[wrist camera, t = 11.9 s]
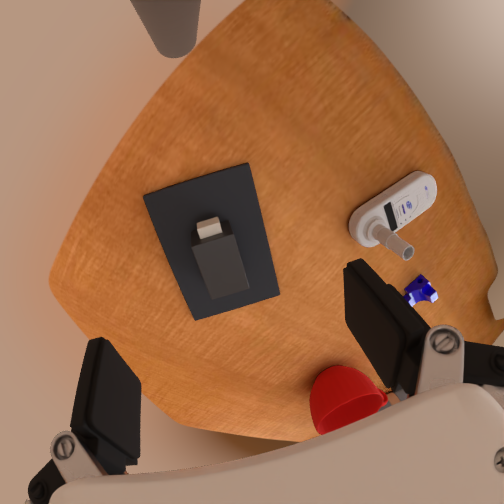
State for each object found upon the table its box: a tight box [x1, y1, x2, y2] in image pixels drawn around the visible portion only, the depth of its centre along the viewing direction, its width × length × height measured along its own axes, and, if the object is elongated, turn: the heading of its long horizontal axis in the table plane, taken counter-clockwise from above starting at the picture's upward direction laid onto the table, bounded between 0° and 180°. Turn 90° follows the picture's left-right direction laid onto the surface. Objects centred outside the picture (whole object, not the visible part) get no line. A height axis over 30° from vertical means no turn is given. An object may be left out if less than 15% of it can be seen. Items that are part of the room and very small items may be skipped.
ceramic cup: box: [310, 365, 388, 435], centre depth 49 cm, size 13×17×10 cm
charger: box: [191, 217, 250, 300], centre depth 33 cm, size 8×4×4 cm, turn 13°
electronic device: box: [349, 171, 437, 260], centre depth 33 cm, size 5×10×15 cm
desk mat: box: [143, 163, 280, 321], centre depth 35 cm, size 18×12×1 cm, turn 14°
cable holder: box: [404, 274, 438, 306], centre depth 45 cm, size 8×4×4 cm, turn 129°
